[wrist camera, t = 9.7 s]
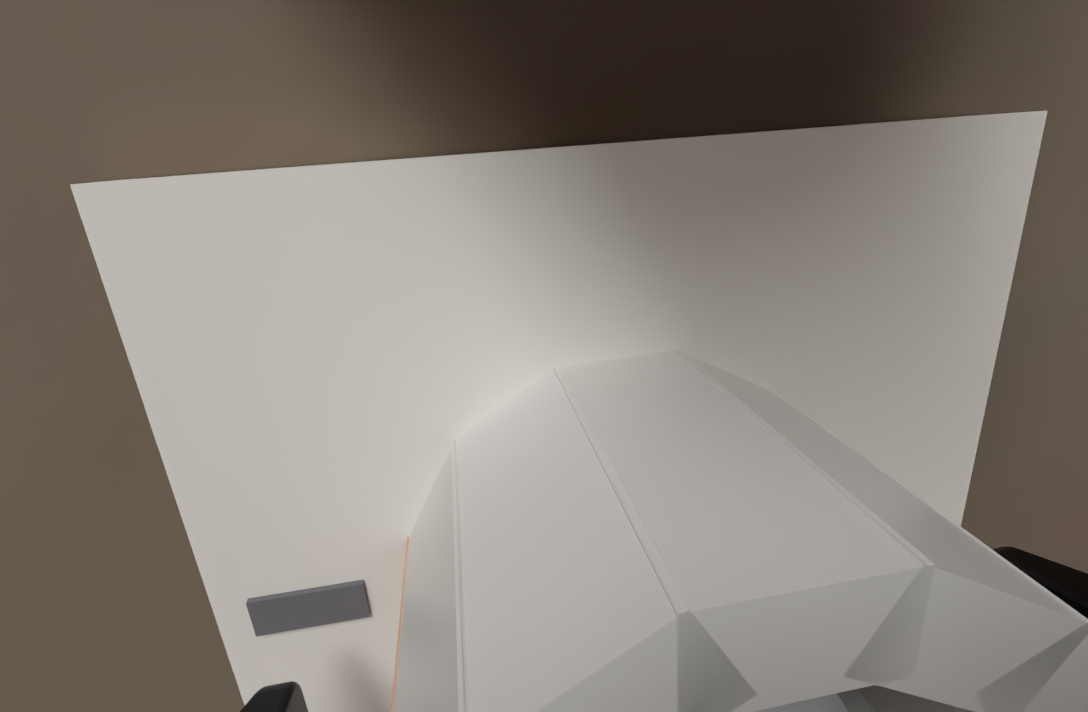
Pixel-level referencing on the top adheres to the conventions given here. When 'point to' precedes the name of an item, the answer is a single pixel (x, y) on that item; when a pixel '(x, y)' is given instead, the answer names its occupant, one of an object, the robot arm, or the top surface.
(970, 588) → the ring
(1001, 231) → the post base
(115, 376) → the top surface
